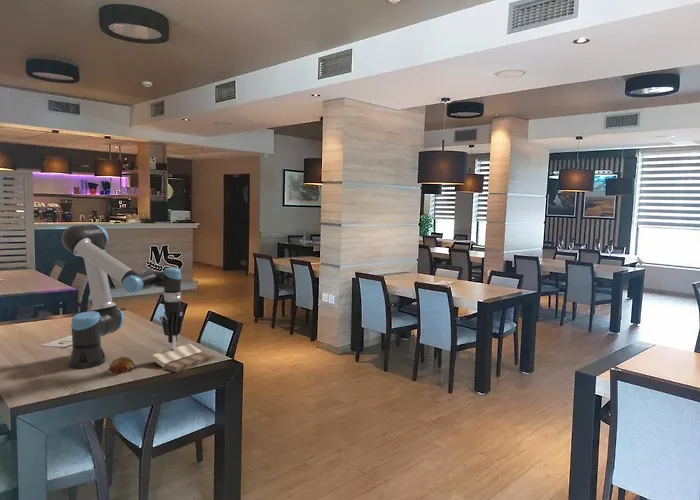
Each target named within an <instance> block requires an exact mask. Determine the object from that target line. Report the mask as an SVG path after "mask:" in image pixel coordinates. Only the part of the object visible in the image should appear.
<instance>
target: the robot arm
mask: <svg viewBox="0 0 700 500" xmlns="http://www.w3.org/2000/svg"><path fill="white" fill-rule="evenodd" d="M61 242H62V245H63V247H64V248H65V249H66V250H67V251H68V252H70V253H71V255H74V256H76V257H81V258H82V259H83V261H84V266H85V272H86V276H87V281H88V285H89V286H88V287H89V292H90V296H91V300H92V307H91V308H90V311H85V312H83V311H82V312H80V313H77V314H75V315H74V316H73V317H72V318H71V323H70V324H71V325H70V327H71V340H72V341H71V343H72V349H71V353H70V356H69V359H68V366H69V367H70V368H73V369H87V368H88V369H89V368H93V367H94V368H95V367H97V366H100V365H102V364H103V365H104V364H105V362H106V360H107V359H106V355H105V352H104V350H103V347H102V339H101V337H104V336H106V335H109V334H112V333H115V332H116V331H119V330H120V329H121V328H122V326H123V325H124V322H125V316H124V313H123V311H122V310H121V309H120V308H118V306H117V303H116V302H114V301H113V298H112V293H111V287H110V283H109V278H108V275H109V276H110V277H112V278H113V279H115V280H116V281H118V282H119V283H121V284H122V285H121V286H122V288H123V289H124V291H125V292H127V293H130V294H131V293H138V292H141V291H144V290H148V289H151V288H163V300H164V302H163V308H164V313H163V315H162V316H160V317H159V320H160V321H161V325H162V329H163V333H164V336H167V339H168V340H167V341H168V343H169V347H168V348H169V349H173V350H174V349H176V346H177V343H176V342H177V341H178V336H179V334H181V332H182V326H183V321H184V317H185V316H186V313H185V312H182V311H181V308H182V301H181V300H182V272H181V268H178V267H166V268H164V270H163V271H156V270H152V269H151V270H150V269H149V270H142V271H141V273H138V272H137V271H134V269H132V268H130V267H128V266H127V265H125V264H124V263H123V262H122V261H120V260H119V259H116V258H115V257H114V256H112V255H110V254H109V253H107V252H106V251H107V249H106V246H107V244H108V242H109V234H108V232H107V230H106V229H105V228H104V227H102V226H101V225H98V224H83V225H71V226H69V227H68V228H66V229H65V230H63V232H62V234H61ZM169 349H168V350H169Z"/></svg>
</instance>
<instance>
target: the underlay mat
mask: <svg viewBox="0 0 700 500" xmlns="http://www.w3.org/2000/svg"><path fill="white" fill-rule="evenodd" d="M213 360H216V358H215V357H214V359H213ZM207 362H211V360H210V361H207ZM207 362H204V364H205V363H207ZM146 365H149V362H148V363H146ZM150 366H152V367H156V368H158V369H161V370H165V371H168V372H172V371H171V370H168V369H166V367H164V368H163V367H161V365H159V364H158V363H157V362H155V363H150ZM197 366H200V364H198V365H195V366H193V367H192V368H195V367H197ZM188 369H191V367H190V368H188ZM181 371H182V372H184V370H181ZM181 371H178V372H175V371H173V373H175V374H176V373H179V372H181Z"/></svg>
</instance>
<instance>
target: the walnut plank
mask: <svg viewBox="0 0 700 500" xmlns="http://www.w3.org/2000/svg"><path fill="white" fill-rule="evenodd" d="M214 358H215V354H211V353H207V352H203V351H202V353H200V354H197V355H193V356H190V357H187V358H184V359H181V360H178V361H175V362H172V363H169V364H166V365H165V367H164V368H165V370H166V369H167V370H168V371H169V370H171V371H170V372H175V373H177V372H178V371H179V372H181V370H183V371H185V370H188V369H189V368H190V369H191V368H194V367H196V366H195V365H197V366H199V365H202V364H205V362H206V363H207V362H208V361H210V362H211V361H214V360H215V359H214ZM198 364H199V365H198ZM193 366H194V367H193ZM179 372H178V373H179Z"/></svg>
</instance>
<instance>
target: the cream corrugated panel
mask: <svg viewBox="0 0 700 500" xmlns="http://www.w3.org/2000/svg"><path fill="white" fill-rule="evenodd" d="M200 353H203V351H202V350H201V349H199V348H197V347H196V346H194V345H193V344H191V343H187V344H186V343H185V344H183V345H180V346H177V347H176V349H174V350H173V349H167V350H164V351H160V352H157V353H153V354H151V358H150V359H151V360H153V362H154V363H156V362H157V363H156V364H157V365H158V366H160V367H161V368H163V369H164V368H166V367H165V365H166V364H169V363H172V362H175V361H178V360H181V359H184V358H187V357H190V356H193V355H197V354H200Z"/></svg>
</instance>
